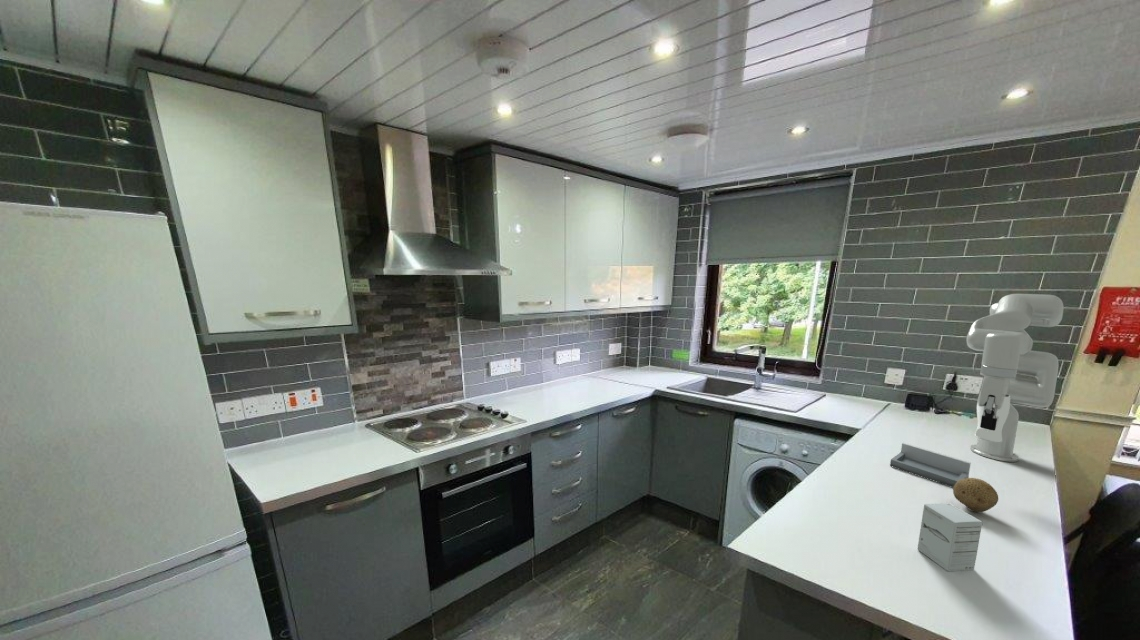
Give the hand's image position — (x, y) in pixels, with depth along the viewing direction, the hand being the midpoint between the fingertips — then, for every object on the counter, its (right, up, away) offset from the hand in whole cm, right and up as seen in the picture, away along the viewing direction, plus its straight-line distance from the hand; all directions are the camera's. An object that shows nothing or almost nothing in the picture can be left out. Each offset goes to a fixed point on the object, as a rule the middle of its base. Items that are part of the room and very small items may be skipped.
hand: (989, 426), depth 121 cm
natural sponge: (-16, -23, -10) cm, 29 cm away
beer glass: (0, -4, +1) cm, 4 cm away
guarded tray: (-8, -20, +12) cm, 25 cm away
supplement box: (-44, -25, -29) cm, 58 cm away
